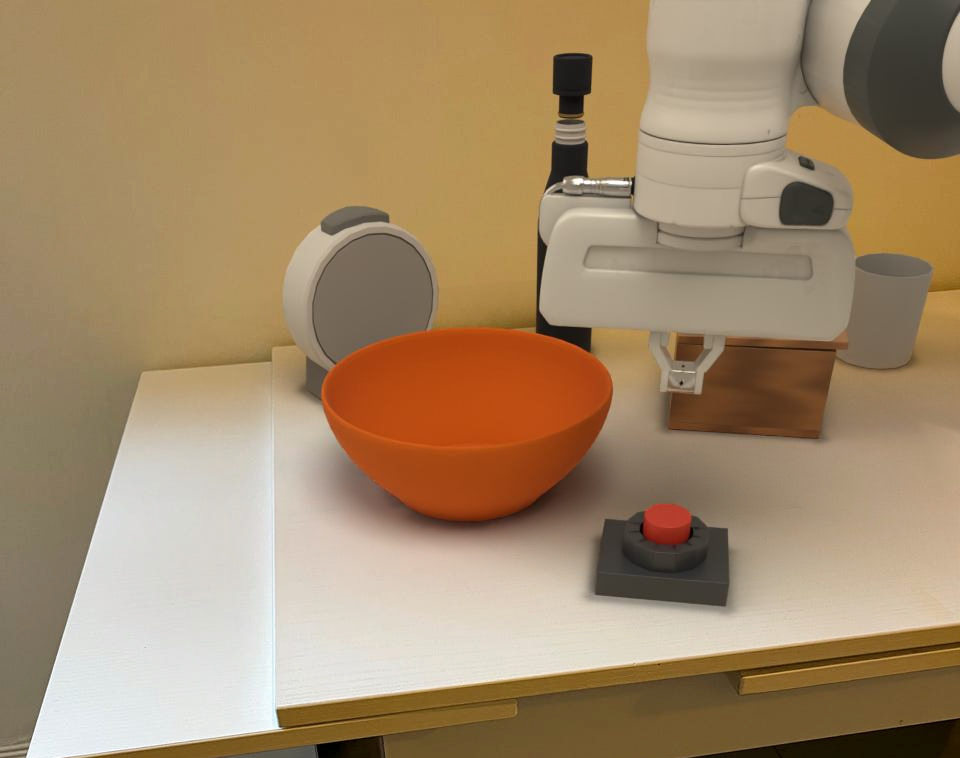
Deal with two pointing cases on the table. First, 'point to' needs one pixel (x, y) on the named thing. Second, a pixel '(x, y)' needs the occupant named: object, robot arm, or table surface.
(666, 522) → the button
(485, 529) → the table surface
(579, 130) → the wine bottle
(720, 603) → the button block
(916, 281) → the cup
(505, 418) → the bowl
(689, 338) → the box lid
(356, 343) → the alarm clock
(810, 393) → the oak box
